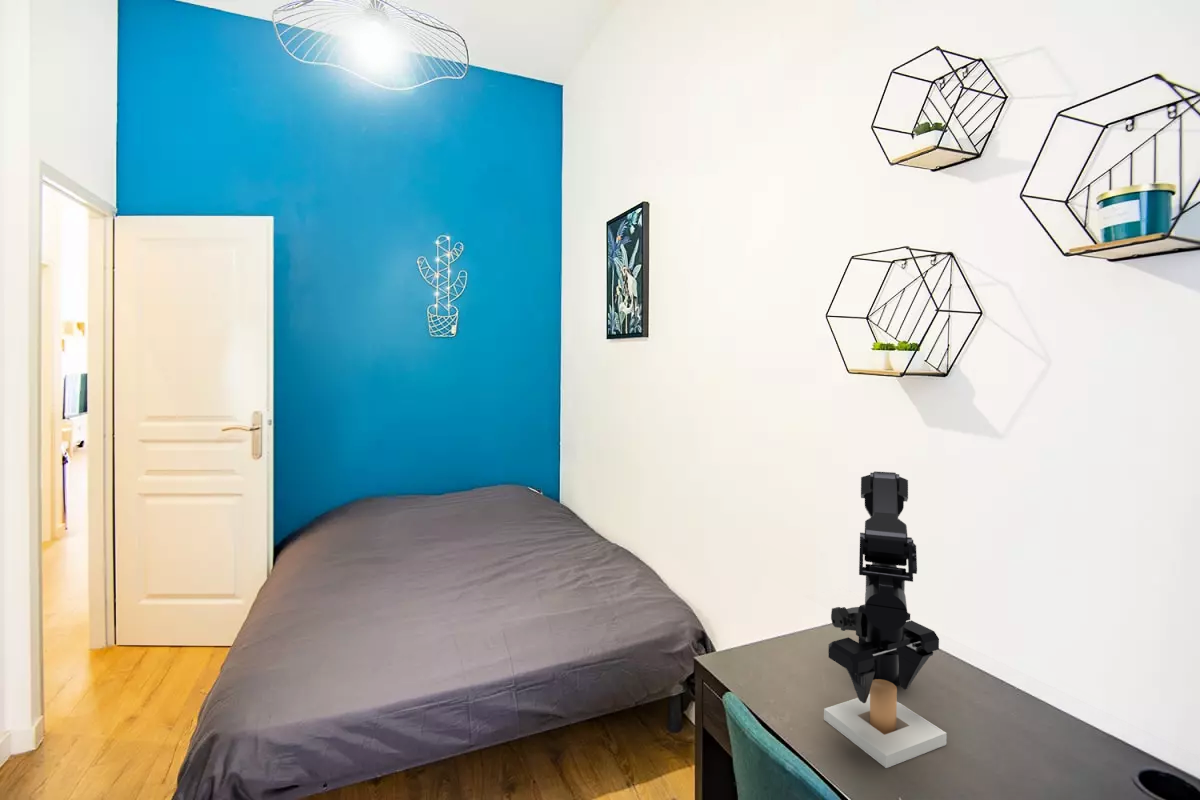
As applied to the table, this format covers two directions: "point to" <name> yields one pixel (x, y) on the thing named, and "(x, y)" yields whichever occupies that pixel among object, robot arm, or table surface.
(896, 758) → the frame
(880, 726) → the peg
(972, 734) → the table surface
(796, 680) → the table surface
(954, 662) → the table surface
